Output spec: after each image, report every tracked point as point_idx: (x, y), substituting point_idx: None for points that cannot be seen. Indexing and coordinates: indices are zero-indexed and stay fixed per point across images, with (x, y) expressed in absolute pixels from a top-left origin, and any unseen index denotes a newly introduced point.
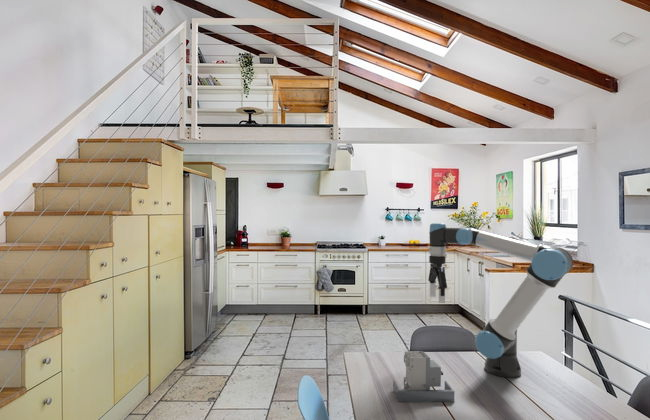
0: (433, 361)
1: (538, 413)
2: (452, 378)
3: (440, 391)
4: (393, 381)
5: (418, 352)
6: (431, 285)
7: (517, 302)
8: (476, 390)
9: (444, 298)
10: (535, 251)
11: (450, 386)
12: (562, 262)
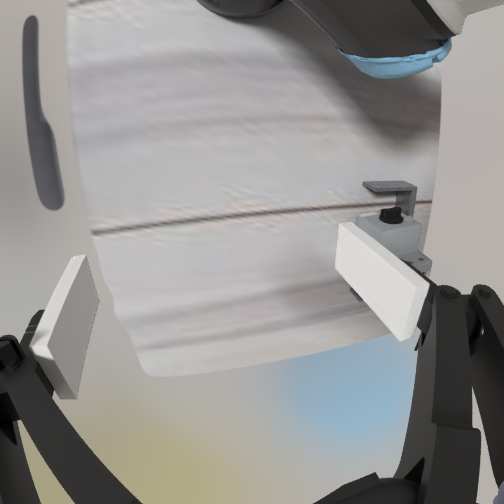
0: (391, 234)
1: None
2: (299, 140)
3: (412, 215)
4: (363, 300)
5: None
6: (75, 369)
7: None
8: (363, 107)
9: (370, 241)
10: None
11: (399, 187)
12: None
